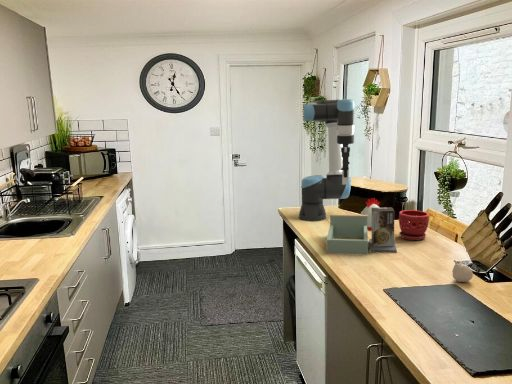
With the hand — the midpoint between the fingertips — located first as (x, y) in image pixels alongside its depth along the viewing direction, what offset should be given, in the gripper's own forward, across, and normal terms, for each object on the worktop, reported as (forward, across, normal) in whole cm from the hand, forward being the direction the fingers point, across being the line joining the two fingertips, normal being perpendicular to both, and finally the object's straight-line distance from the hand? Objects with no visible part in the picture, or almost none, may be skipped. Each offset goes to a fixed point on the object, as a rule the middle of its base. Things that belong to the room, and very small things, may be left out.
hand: (345, 181), depth 208 cm
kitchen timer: (+28, -21, +14) cm, 38 cm away
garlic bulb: (+26, +48, +40) cm, 68 cm away
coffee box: (+26, +11, +16) cm, 33 cm away
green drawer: (+27, +10, +1) cm, 29 cm away
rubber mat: (+27, +11, +16) cm, 33 cm away
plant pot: (+28, -3, +31) cm, 42 cm away
